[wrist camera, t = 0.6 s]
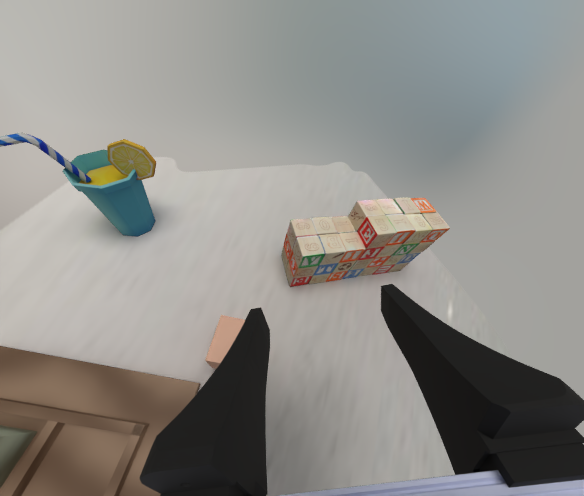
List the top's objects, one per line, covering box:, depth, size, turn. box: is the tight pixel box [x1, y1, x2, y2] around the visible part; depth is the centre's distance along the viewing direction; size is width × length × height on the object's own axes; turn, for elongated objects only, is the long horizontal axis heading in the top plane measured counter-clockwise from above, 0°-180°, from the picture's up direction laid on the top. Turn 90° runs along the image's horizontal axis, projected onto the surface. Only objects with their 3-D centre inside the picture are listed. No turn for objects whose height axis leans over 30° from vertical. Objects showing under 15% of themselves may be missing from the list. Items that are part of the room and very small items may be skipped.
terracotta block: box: [205, 315, 245, 369], centre depth 25 cm, size 4×4×6 cm
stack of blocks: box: [282, 198, 450, 287], centre depth 33 cm, size 21×6×12 cm, turn 104°
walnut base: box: [0, 346, 200, 496], centre depth 16 cm, size 16×22×7 cm
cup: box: [0, 133, 156, 236], centre depth 29 cm, size 14×8×15 cm, turn 113°
